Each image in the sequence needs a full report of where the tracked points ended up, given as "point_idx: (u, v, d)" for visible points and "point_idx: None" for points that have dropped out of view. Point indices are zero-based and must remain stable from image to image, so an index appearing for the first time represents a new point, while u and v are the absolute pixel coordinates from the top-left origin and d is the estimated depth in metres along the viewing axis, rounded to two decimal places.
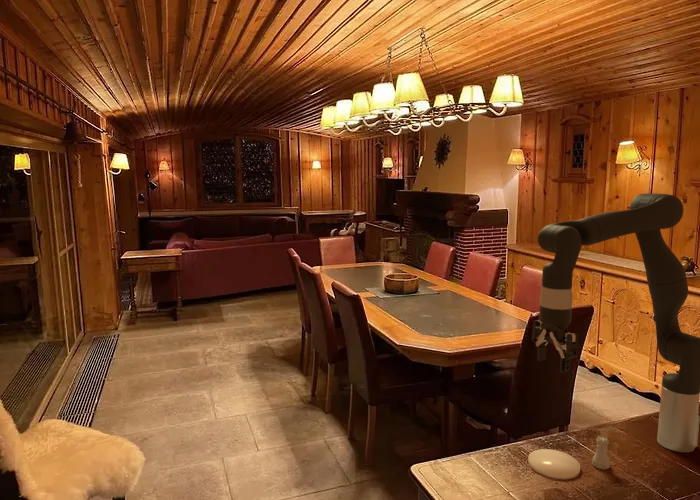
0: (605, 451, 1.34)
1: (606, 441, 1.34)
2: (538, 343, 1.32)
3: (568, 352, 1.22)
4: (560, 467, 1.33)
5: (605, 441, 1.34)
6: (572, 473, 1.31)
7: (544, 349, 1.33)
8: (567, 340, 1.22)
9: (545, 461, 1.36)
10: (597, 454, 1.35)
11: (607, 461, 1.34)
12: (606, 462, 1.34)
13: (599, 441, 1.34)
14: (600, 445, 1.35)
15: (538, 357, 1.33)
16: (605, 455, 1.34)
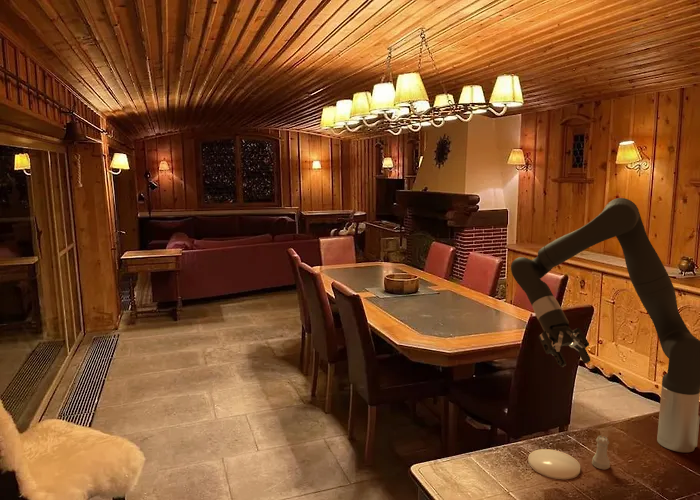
0: (605, 451, 1.34)
1: (606, 441, 1.34)
2: None
3: None
4: (560, 467, 1.33)
5: (605, 441, 1.34)
6: (572, 473, 1.31)
7: (582, 351, 1.46)
8: None
9: (545, 461, 1.36)
10: (597, 454, 1.35)
11: (607, 461, 1.34)
12: (606, 462, 1.34)
13: (599, 441, 1.34)
14: (600, 445, 1.35)
15: None
16: (605, 455, 1.34)
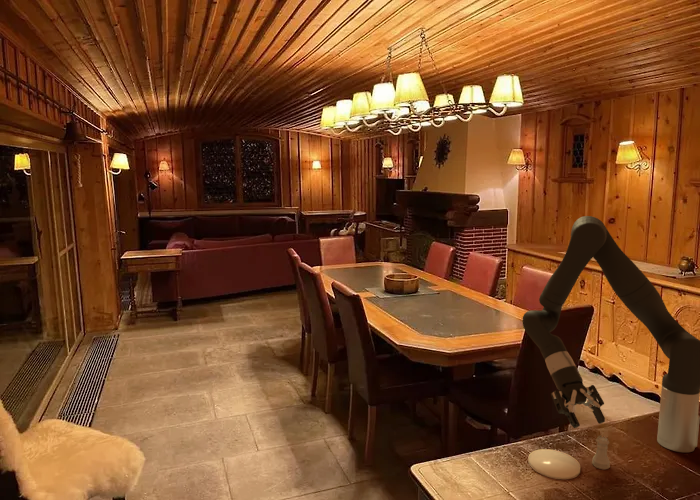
0: (605, 451, 1.34)
1: (606, 441, 1.34)
2: None
3: None
4: (560, 467, 1.33)
5: (605, 441, 1.34)
6: (572, 473, 1.31)
7: (596, 411, 1.42)
8: None
9: (545, 461, 1.36)
10: (597, 454, 1.35)
11: (607, 461, 1.34)
12: (606, 462, 1.34)
13: (599, 441, 1.34)
14: (600, 445, 1.35)
15: None
16: (605, 455, 1.34)
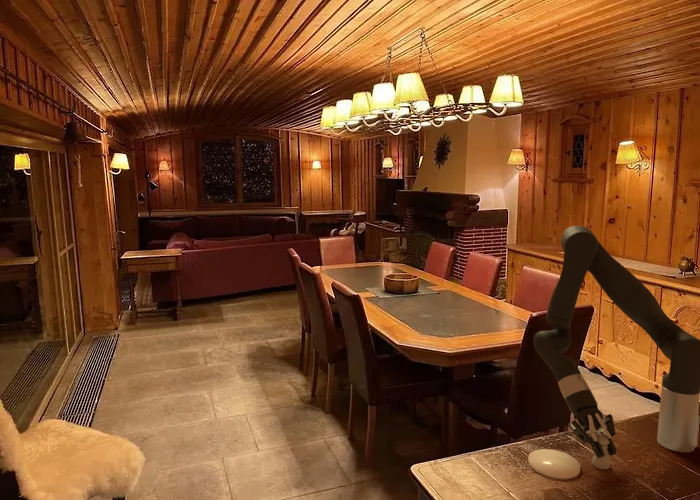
0: (605, 451, 1.34)
1: (606, 441, 1.34)
2: None
3: None
4: (560, 467, 1.33)
5: (605, 441, 1.34)
6: (572, 473, 1.31)
7: None
8: None
9: (545, 461, 1.36)
10: None
11: (607, 461, 1.34)
12: (606, 462, 1.34)
13: (599, 441, 1.34)
14: (600, 445, 1.35)
15: None
16: (605, 455, 1.34)
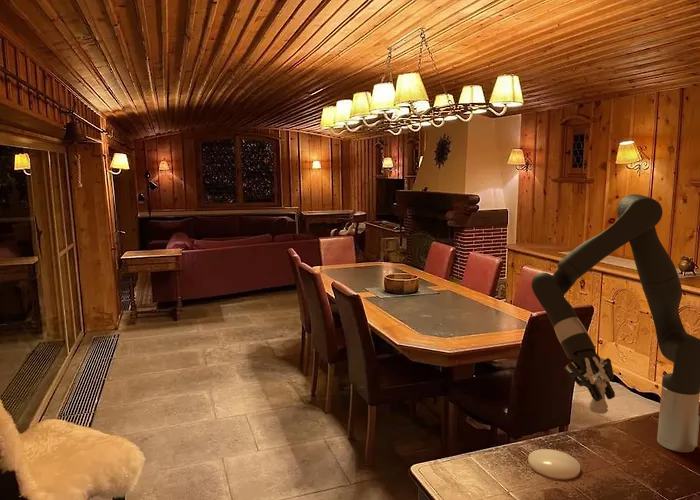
0: (603, 394, 1.28)
1: (604, 384, 1.27)
2: None
3: None
4: (560, 467, 1.33)
5: (603, 384, 1.27)
6: (572, 473, 1.31)
7: None
8: None
9: (545, 461, 1.36)
10: None
11: (605, 405, 1.28)
12: (604, 406, 1.27)
13: (596, 384, 1.28)
14: None
15: None
16: (603, 399, 1.28)
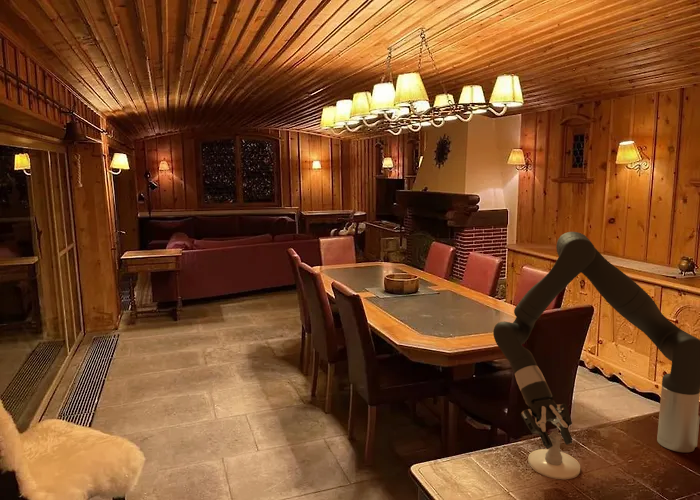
0: (557, 447, 1.35)
1: (558, 437, 1.34)
2: None
3: None
4: (560, 467, 1.33)
5: (557, 437, 1.34)
6: (572, 473, 1.31)
7: (563, 431, 1.36)
8: None
9: (545, 461, 1.36)
10: (550, 450, 1.36)
11: (559, 457, 1.35)
12: (558, 458, 1.34)
13: (552, 436, 1.35)
14: (553, 440, 1.35)
15: None
16: (557, 451, 1.35)
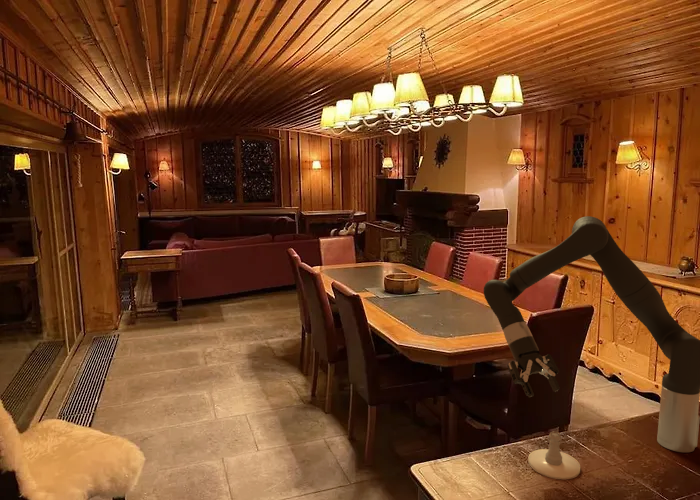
0: (557, 447, 1.35)
1: (558, 437, 1.34)
2: None
3: None
4: (560, 467, 1.33)
5: (557, 437, 1.34)
6: (572, 473, 1.31)
7: (551, 380, 1.44)
8: None
9: (545, 461, 1.36)
10: (549, 450, 1.36)
11: (559, 457, 1.35)
12: (558, 458, 1.34)
13: (551, 437, 1.35)
14: (552, 441, 1.35)
15: None
16: (557, 451, 1.35)
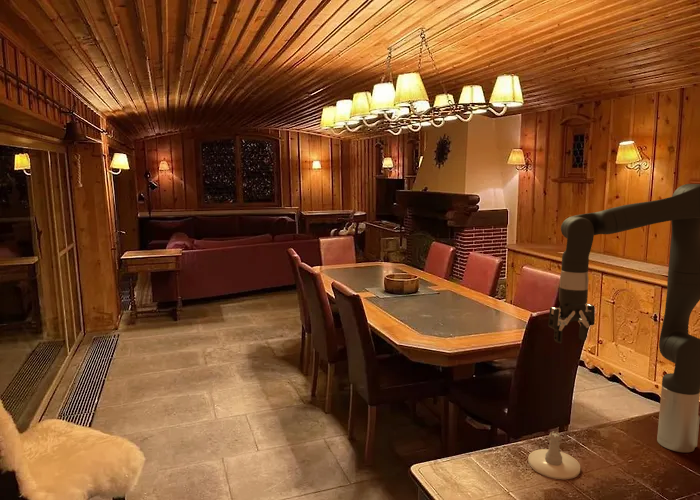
0: (557, 447, 1.35)
1: (558, 437, 1.34)
2: None
3: None
4: (560, 467, 1.33)
5: (557, 437, 1.34)
6: (572, 473, 1.31)
7: (583, 329, 1.47)
8: None
9: (545, 461, 1.36)
10: (549, 450, 1.36)
11: (559, 457, 1.35)
12: (558, 458, 1.34)
13: (551, 437, 1.35)
14: (552, 441, 1.35)
15: None
16: (557, 451, 1.35)
